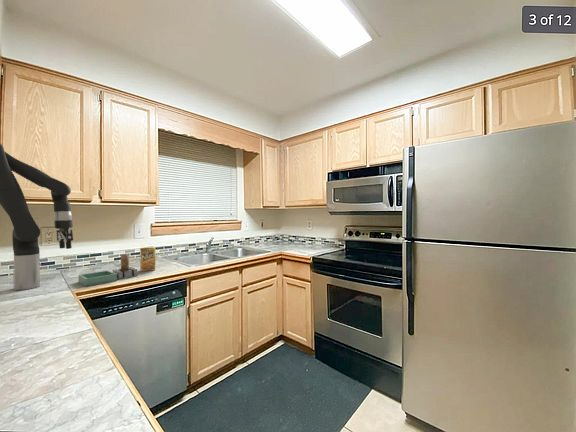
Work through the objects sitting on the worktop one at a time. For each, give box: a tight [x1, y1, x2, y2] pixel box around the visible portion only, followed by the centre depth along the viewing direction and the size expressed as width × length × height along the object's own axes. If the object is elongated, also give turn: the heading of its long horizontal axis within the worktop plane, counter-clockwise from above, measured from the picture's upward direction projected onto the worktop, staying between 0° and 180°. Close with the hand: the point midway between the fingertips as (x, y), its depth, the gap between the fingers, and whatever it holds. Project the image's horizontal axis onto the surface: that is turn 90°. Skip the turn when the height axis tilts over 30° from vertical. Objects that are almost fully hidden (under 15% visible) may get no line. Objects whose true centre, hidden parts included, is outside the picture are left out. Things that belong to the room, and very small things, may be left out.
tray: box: [77, 270, 118, 287], centre depth 141 cm, size 14×14×4 cm
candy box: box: [139, 246, 156, 272], centre depth 169 cm, size 9×4×15 cm, turn 116°
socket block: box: [111, 266, 138, 280], centre depth 153 cm, size 10×10×4 cm
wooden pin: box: [120, 254, 130, 272], centre depth 153 cm, size 4×4×13 cm
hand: (65, 248), depth 141 cm, fingers open, 8 cm apart
